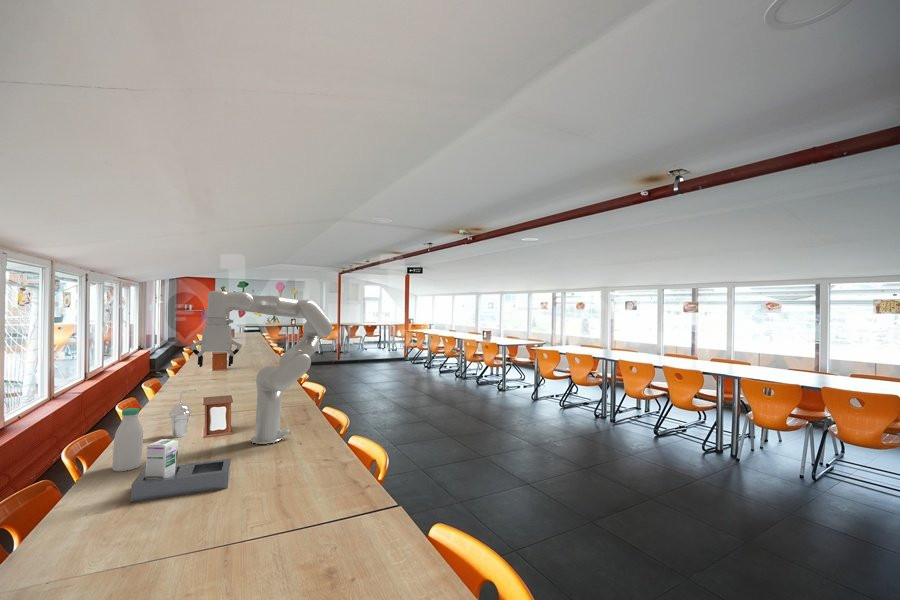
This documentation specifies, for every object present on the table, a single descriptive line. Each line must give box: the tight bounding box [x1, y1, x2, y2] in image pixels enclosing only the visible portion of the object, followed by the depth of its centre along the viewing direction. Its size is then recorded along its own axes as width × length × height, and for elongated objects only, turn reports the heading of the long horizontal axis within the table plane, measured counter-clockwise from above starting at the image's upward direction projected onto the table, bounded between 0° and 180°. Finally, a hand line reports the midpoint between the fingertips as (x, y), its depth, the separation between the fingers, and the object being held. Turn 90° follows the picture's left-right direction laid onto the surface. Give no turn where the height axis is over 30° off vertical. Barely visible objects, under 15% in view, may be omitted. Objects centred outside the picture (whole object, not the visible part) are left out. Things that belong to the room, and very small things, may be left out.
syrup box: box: [145, 438, 179, 480], centre depth 117 cm, size 6×6×14 cm
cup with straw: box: [168, 388, 196, 439], centre depth 166 cm, size 8×9×20 cm
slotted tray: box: [130, 458, 232, 504], centre depth 119 cm, size 24×12×5 cm, turn 117°
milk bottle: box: [111, 407, 144, 472], centre depth 132 cm, size 8×8×20 cm
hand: (215, 366), depth 149 cm, fingers open, 9 cm apart
